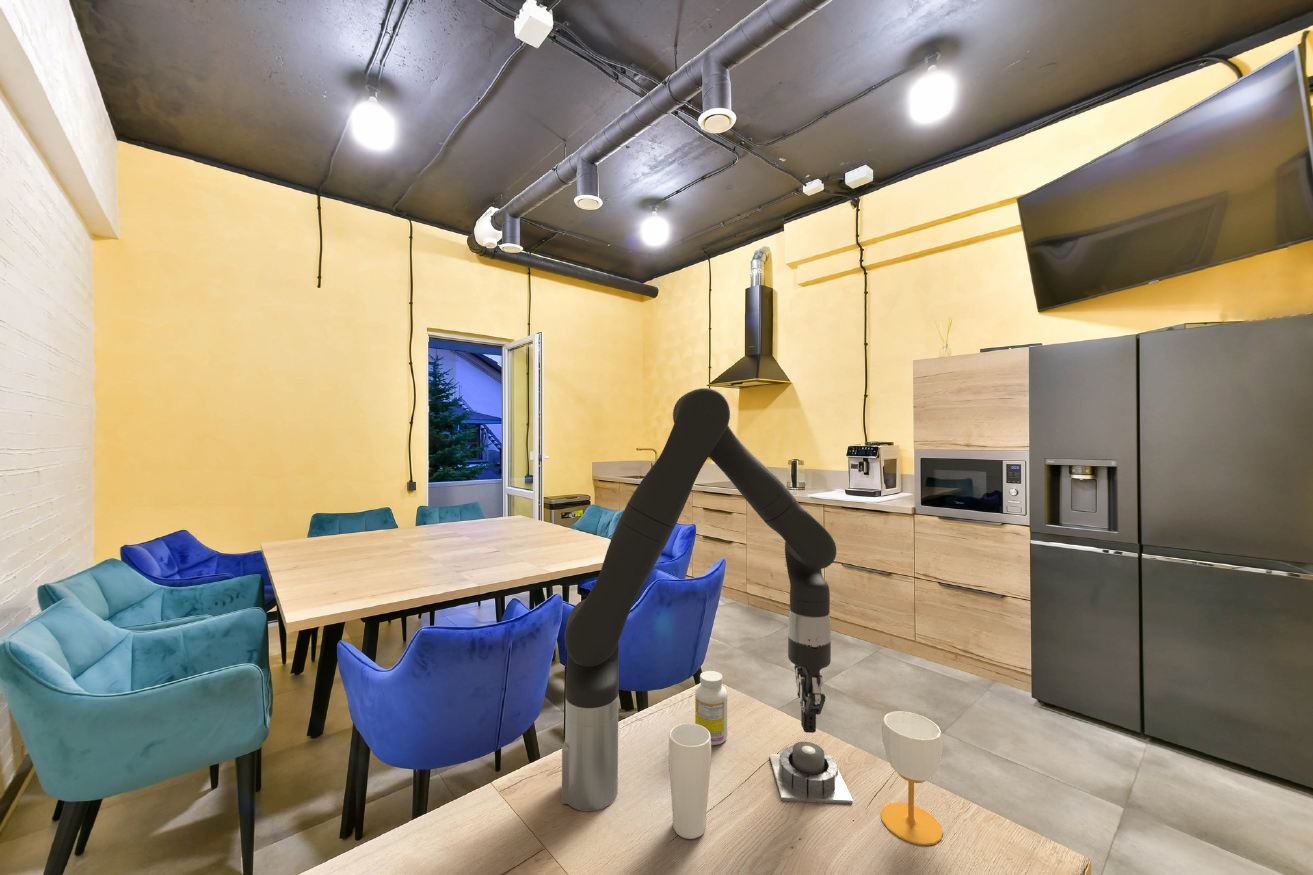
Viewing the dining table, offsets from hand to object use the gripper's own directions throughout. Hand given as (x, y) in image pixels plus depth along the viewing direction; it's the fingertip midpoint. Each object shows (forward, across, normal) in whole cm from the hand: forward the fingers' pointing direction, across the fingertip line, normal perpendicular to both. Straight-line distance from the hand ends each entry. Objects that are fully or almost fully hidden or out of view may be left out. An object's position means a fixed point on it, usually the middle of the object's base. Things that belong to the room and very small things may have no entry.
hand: (808, 729), depth 93 cm
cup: (+9, +10, +14) cm, 20 cm away
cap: (+8, 0, 0) cm, 8 cm away
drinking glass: (+9, +13, -22) cm, 27 cm away
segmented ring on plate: (+9, 0, 0) cm, 9 cm away
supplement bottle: (+9, -12, -17) cm, 23 cm away
